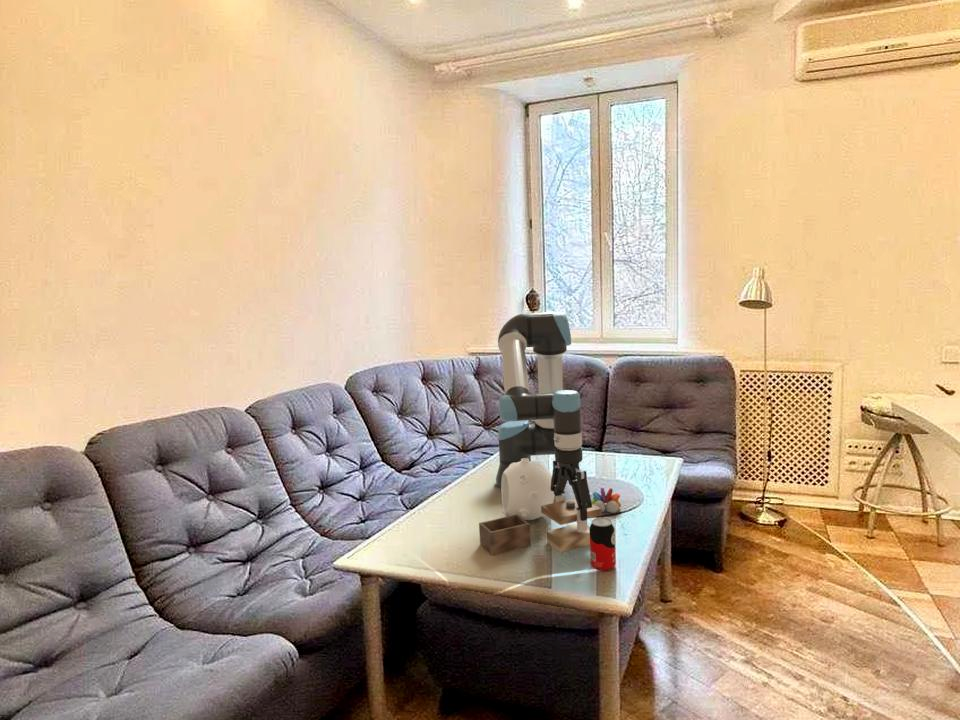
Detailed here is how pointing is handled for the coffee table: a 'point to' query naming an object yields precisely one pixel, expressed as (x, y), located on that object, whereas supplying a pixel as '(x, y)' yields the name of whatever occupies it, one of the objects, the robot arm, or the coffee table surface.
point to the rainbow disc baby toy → (606, 501)
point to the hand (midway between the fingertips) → (571, 523)
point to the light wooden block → (568, 538)
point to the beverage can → (602, 544)
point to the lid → (567, 511)
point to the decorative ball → (526, 489)
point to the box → (504, 534)
